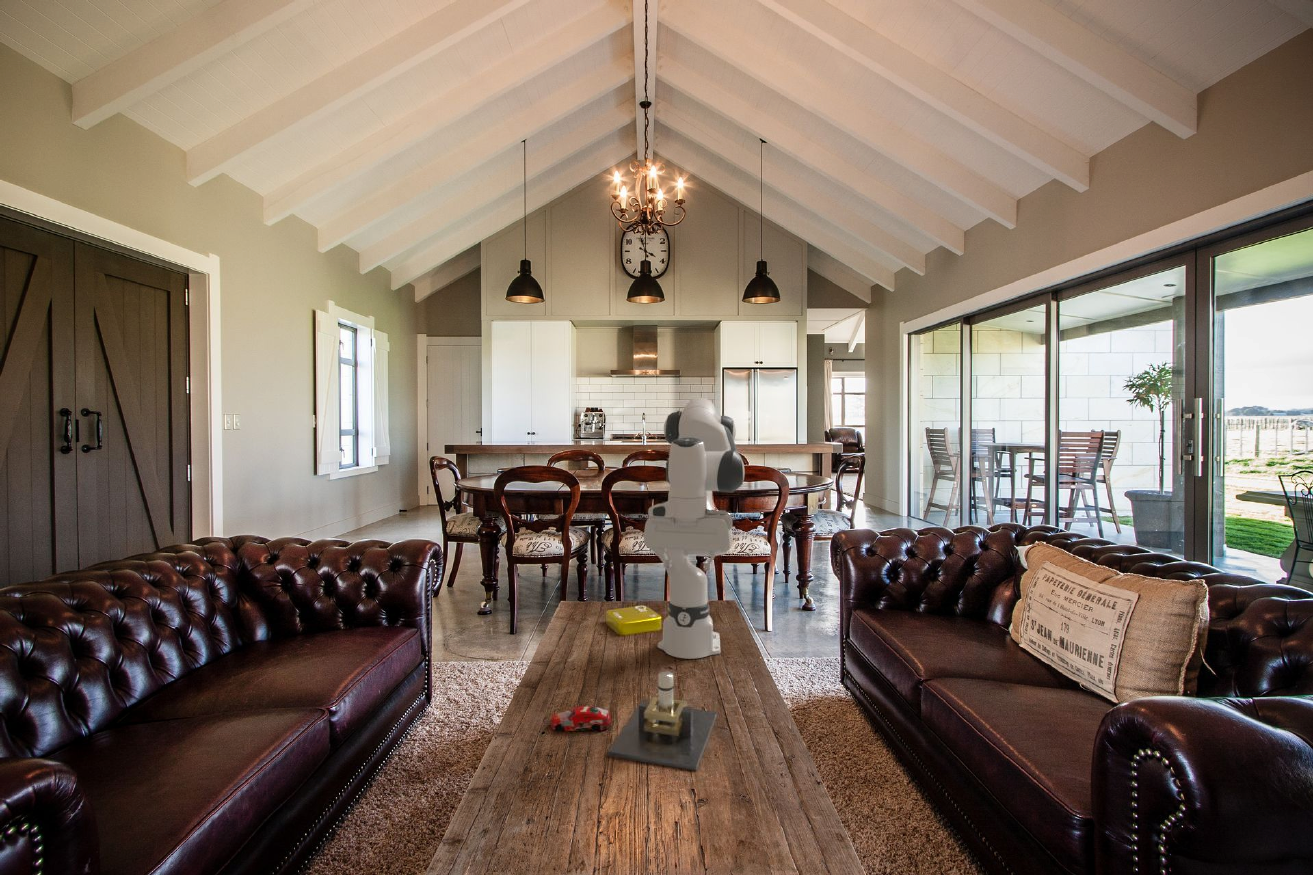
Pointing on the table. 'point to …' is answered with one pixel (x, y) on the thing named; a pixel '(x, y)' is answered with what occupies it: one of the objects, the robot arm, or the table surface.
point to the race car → (581, 719)
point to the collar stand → (665, 735)
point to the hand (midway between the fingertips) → (687, 568)
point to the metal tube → (665, 695)
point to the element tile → (633, 620)
